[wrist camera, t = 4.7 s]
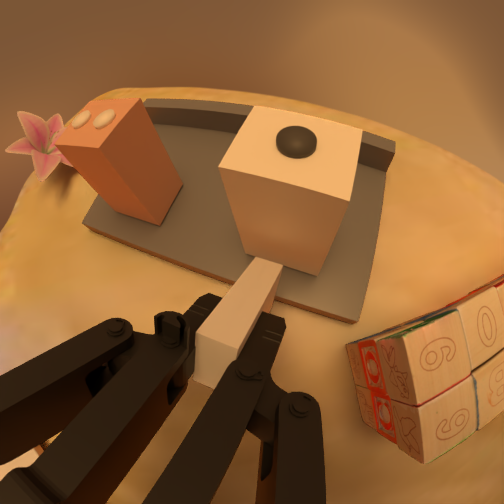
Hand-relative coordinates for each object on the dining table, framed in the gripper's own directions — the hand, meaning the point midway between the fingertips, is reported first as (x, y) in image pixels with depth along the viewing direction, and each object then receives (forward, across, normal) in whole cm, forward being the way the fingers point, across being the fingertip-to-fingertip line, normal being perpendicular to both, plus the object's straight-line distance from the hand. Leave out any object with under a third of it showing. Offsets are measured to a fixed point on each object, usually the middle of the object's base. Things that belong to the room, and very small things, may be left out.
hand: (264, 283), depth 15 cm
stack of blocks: (+5, +17, -2) cm, 17 cm away
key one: (+5, 0, +1) cm, 5 cm away
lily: (+8, -29, +2) cm, 30 cm away
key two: (+5, -12, +1) cm, 13 cm away
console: (+8, -6, +2) cm, 10 cm away
